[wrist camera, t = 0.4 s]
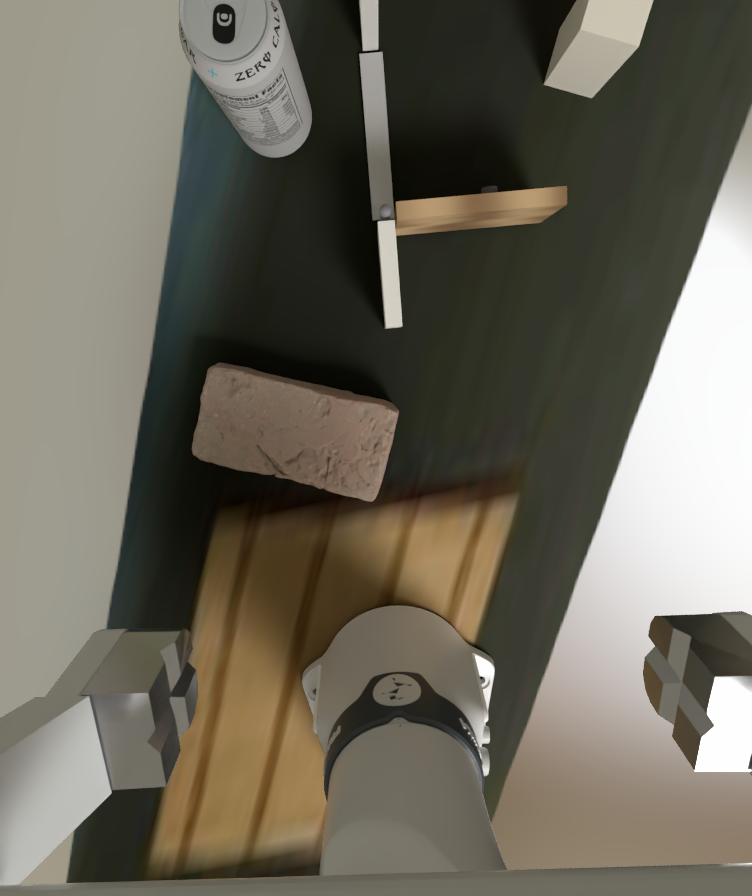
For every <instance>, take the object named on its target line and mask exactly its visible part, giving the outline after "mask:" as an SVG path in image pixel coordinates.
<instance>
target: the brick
mask: <svg viewBox="0 0 752 896" xmlns="http://www.w3.org/2000/svg"><path fill="white" fill-rule="evenodd" d="M200 400H201V406H200V414H199V418H198V423H197V426H196V430H195V432H194V438H193V444H192V452H193V455H195V456H197V457H198V458H199V459H200V460H203V461H207V462H212V463H215V464H218V465H220V466H226V467H229V468H232V469H236V470H240V471H246V472H256V473H260V474H263V475H272V474H275V476H276V477H279V478H286V479H291V480H294V481H296V482H299V483H301V484H302V483H304V484H307V485H313V486H315V487H317V488H319V489H321V488H324V489H325V490H327V491H329V492H333V493H337V494H341V495H345V496H349V497H354V498H359V499H362V500H365V501H373V500H374V499H375V498H376V496H377V494H378V492H379V489H380V486H381V483H382V479H383V476H384V472H385V469H386V464H387V460H388V456H389V453H390V449H391V446H392V442H393V437H394V431H395V427H396V423H397V418H398V415H399V410H398V409H397V408H396V406H394V404H392V403H391V402H388V401H386V400H384V399H377V398H373V397H369V396H363V395H357V394H354V393H352V392H350V391H345V390H339V389H335V388H331V387H327V386H324V385H317V384H312V383H308V382H303V381H299V380H293V379H290V378H285V377H281V376H277V375H272V374H268V373H264V372H260V371H257V370H254V369H251V368H248V367H242V366H236V365H231V364H226V363H217V364H216V365H213V366H211V367H210V368H209V369H208V371H207V376H206V380H205V384H204V387H203V392H202V394H201V398H200Z"/></svg>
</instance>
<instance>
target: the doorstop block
mask: <svg viewBox="0 0 752 896" xmlns="http://www.w3.org/2000/svg"><path fill="white" fill-rule="evenodd" d="M652 3H653V0H576V2H575V4H574V5H573V7H572V9H571V10H570V12H569V14H568V15H567V17H566V19H565V21H564V22H563V24H562V26H561V27H560V29H559V33H558V36H557V40H556V43H555V47H554V50H553V54H552V57H551V61H550V64H549V68H548V71H547V75H546V78H545V82H544V85H547V86H550V87H554V88H557V89H561V90H565V91H568V92H572V93H575V94H579V95H582V96H586V97H589V98H592V97H593V96H594V95H595V94H596V93H597V92H598V91H599V90H600V89H601V88H602V86H603V85H604V84H605V83H606V82H607V81H608V80H609V79H610V78H611V77H612V75H613V74H614V73H615V72H616V71H617V70H618V69H619V68H620V67H621V66H622V64H623V63H624V62H625V61H626V60H627V59H628V58H629V57H630V56H631V54H632V53H633V52H634V51H635V50H636V49H637V48H638V47H639V44H640V41H641V38H642V35H643V31H644V28H645V25H646V22H647V19H648V15H649V12H650V9H651V6H652Z"/></svg>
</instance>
